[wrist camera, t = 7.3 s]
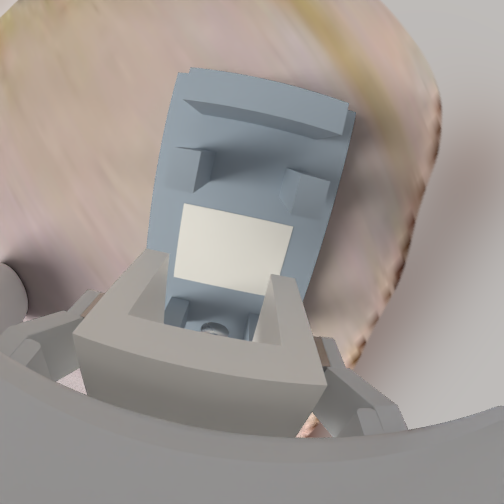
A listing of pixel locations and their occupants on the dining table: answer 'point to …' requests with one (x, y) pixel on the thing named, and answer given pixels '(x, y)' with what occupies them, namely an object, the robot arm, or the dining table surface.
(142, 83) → the dining table surface
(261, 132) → the block
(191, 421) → the bracket
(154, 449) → the robot arm
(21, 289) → the cup
